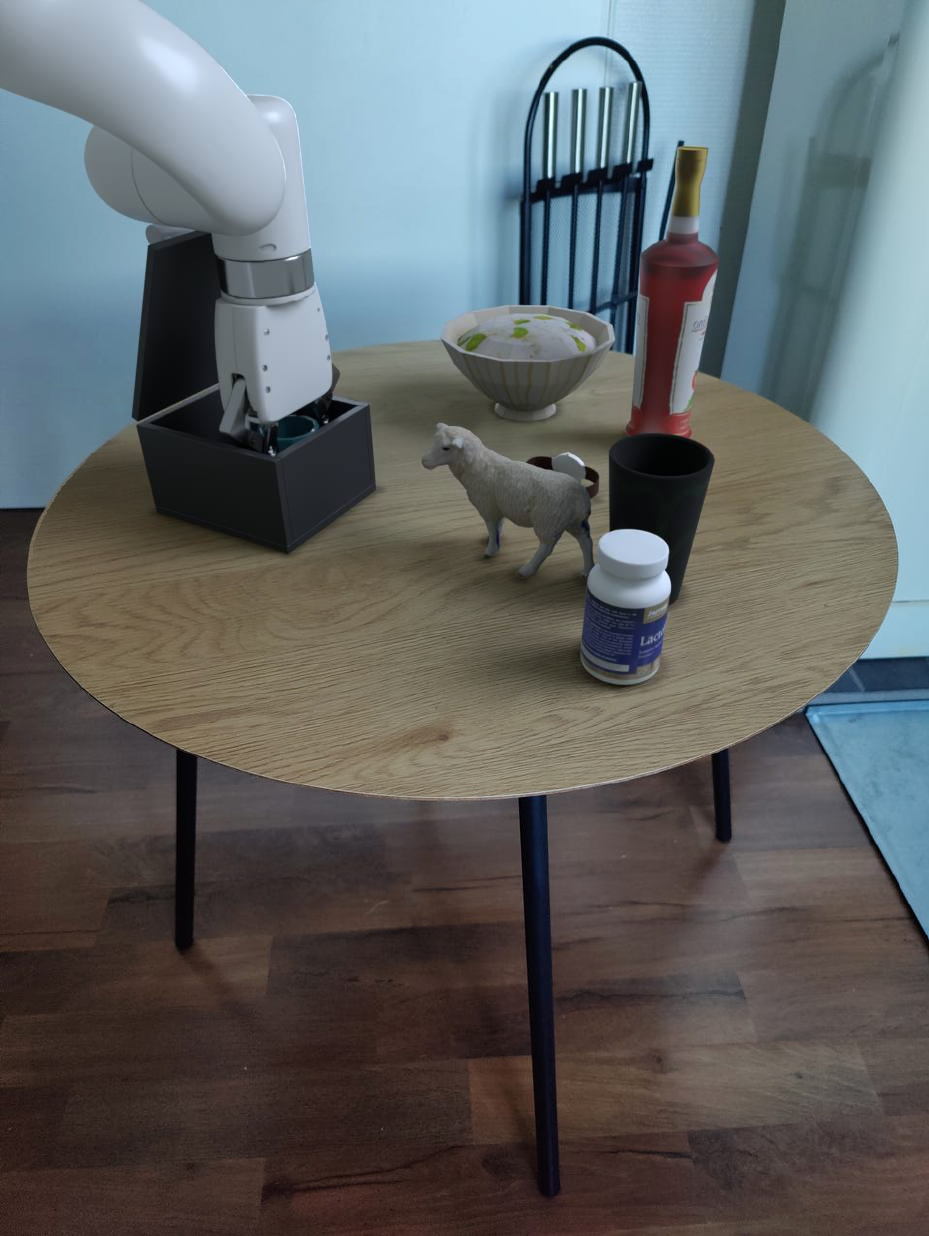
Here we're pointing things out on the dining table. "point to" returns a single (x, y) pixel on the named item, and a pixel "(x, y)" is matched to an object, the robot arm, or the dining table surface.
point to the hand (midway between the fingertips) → (293, 475)
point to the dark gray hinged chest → (257, 473)
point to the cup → (660, 492)
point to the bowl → (527, 354)
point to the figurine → (515, 495)
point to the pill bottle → (626, 607)
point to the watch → (569, 469)
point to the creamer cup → (292, 430)
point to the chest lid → (176, 319)
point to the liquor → (673, 309)
